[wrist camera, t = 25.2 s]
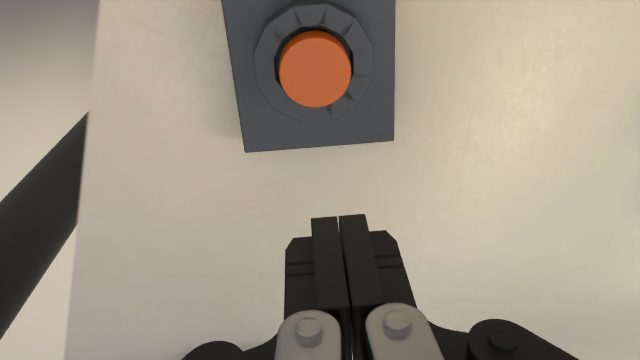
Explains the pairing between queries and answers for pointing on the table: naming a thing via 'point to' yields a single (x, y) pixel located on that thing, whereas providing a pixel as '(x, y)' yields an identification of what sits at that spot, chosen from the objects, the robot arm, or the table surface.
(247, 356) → the robot arm
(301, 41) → the button
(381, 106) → the control block
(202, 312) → the table surface
